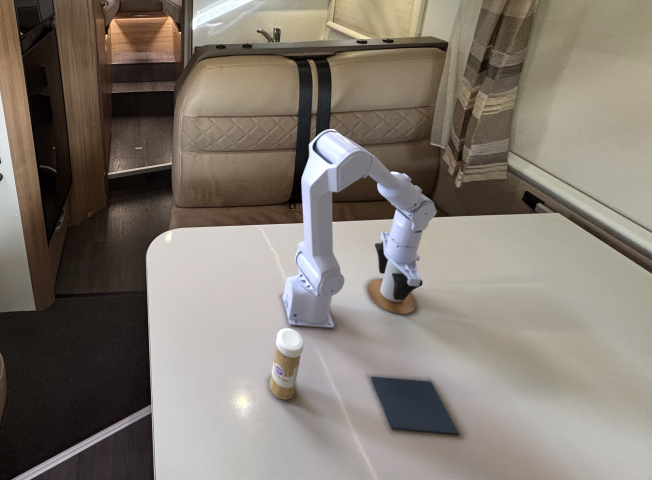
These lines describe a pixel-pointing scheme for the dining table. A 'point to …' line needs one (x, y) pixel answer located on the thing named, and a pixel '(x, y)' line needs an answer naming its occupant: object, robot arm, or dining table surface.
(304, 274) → the robot arm
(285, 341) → the sprinkles bottle
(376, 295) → the cork coaster
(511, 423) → the dining table surface
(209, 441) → the dining table surface
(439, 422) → the slate pad
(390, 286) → the beverage can
